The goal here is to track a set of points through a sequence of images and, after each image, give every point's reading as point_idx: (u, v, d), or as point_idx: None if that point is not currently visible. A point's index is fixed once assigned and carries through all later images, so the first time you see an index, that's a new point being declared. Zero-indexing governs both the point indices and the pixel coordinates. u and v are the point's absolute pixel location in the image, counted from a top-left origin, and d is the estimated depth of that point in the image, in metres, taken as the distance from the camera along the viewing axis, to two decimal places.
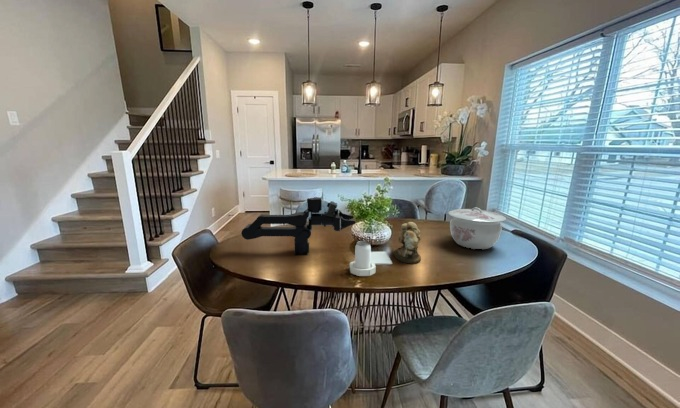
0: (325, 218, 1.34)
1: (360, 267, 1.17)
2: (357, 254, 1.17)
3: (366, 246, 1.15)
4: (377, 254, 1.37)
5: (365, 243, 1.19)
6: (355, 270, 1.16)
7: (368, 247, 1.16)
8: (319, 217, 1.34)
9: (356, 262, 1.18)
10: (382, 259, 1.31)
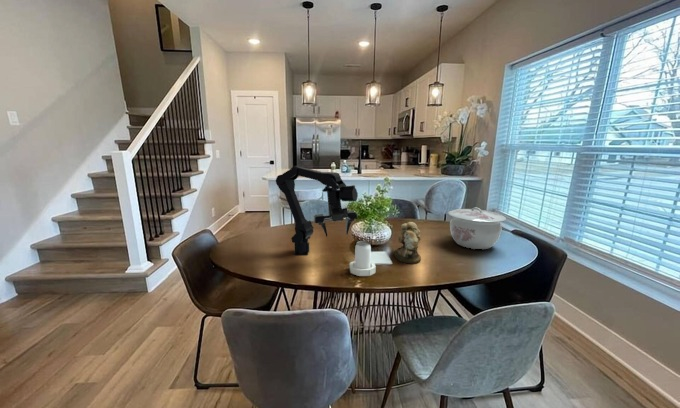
0: (329, 206, 1.26)
1: (360, 267, 1.17)
2: (357, 254, 1.17)
3: (366, 246, 1.15)
4: (377, 254, 1.37)
5: (365, 243, 1.19)
6: (355, 270, 1.16)
7: (368, 247, 1.16)
8: (334, 200, 1.24)
9: (356, 262, 1.18)
10: (382, 259, 1.31)
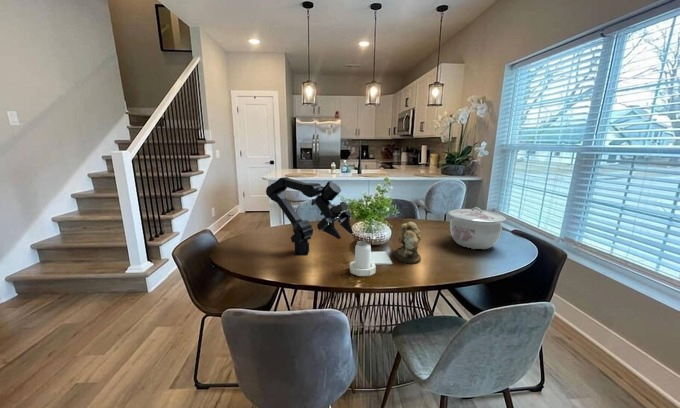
0: (325, 209, 1.23)
1: (360, 267, 1.17)
2: (357, 254, 1.17)
3: (366, 246, 1.15)
4: (377, 254, 1.37)
5: (365, 243, 1.19)
6: (355, 270, 1.16)
7: (368, 247, 1.16)
8: (323, 204, 1.24)
9: (356, 262, 1.18)
10: (382, 259, 1.31)
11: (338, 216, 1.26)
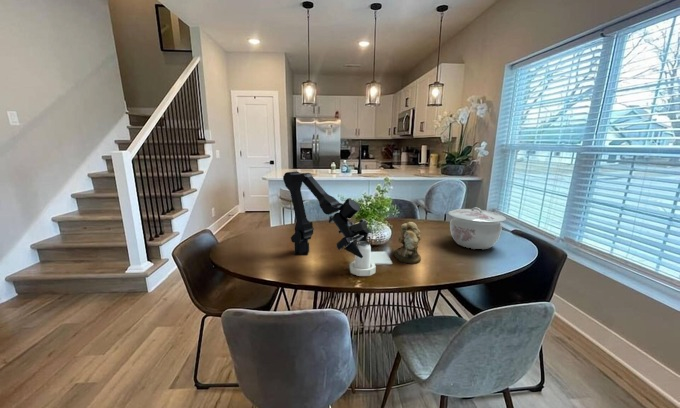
0: (344, 228, 1.19)
1: (360, 267, 1.17)
2: None
3: (366, 246, 1.15)
4: (377, 254, 1.37)
5: (365, 243, 1.18)
6: (355, 270, 1.16)
7: (368, 247, 1.16)
8: (341, 222, 1.20)
9: (356, 262, 1.18)
10: (382, 259, 1.31)
11: (357, 234, 1.22)
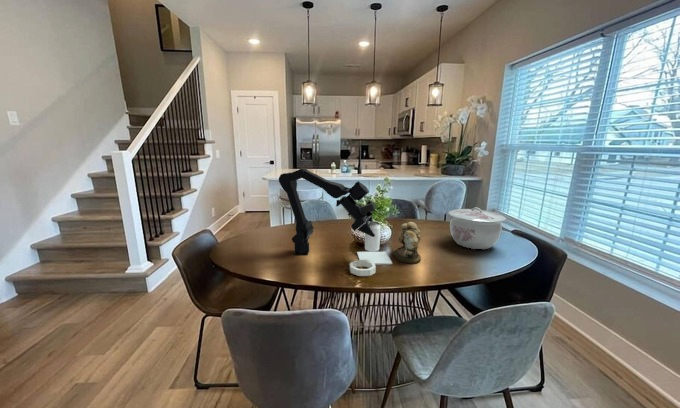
0: (355, 210, 1.24)
1: (372, 246, 1.24)
2: None
3: (377, 225, 1.23)
4: (377, 254, 1.37)
5: (374, 223, 1.26)
6: (355, 270, 1.16)
7: (379, 226, 1.24)
8: (351, 204, 1.24)
9: (368, 242, 1.24)
10: (382, 259, 1.31)
11: (364, 215, 1.28)
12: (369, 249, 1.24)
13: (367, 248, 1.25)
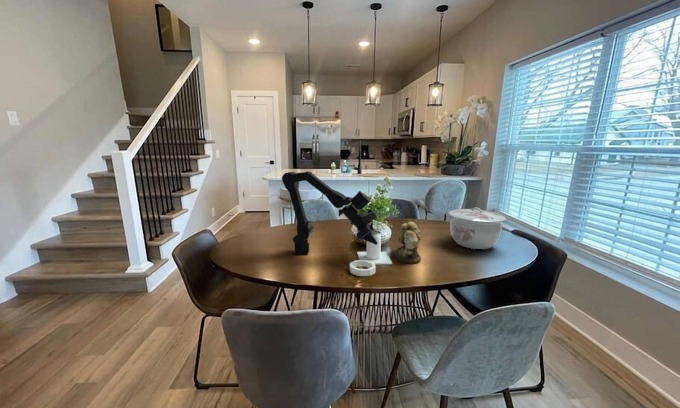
0: (358, 218, 1.28)
1: (374, 254, 1.30)
2: None
3: (379, 234, 1.29)
4: None
5: (375, 232, 1.32)
6: (355, 270, 1.16)
7: (380, 235, 1.30)
8: (354, 213, 1.28)
9: (370, 250, 1.30)
10: (382, 259, 1.31)
11: None
12: (372, 257, 1.30)
13: (369, 256, 1.30)
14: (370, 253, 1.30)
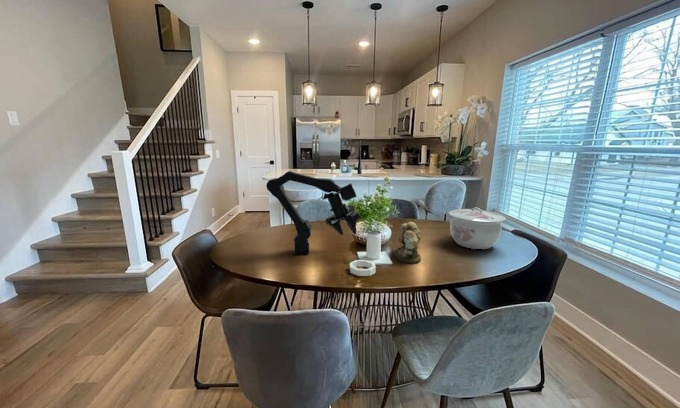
0: (343, 206, 1.34)
1: (374, 254, 1.30)
2: (371, 242, 1.29)
3: (379, 234, 1.29)
4: None
5: (375, 232, 1.32)
6: (355, 270, 1.16)
7: (380, 235, 1.30)
8: (338, 202, 1.32)
9: (370, 250, 1.30)
10: (382, 259, 1.31)
11: None
12: (372, 257, 1.30)
13: (370, 256, 1.30)
14: (370, 253, 1.30)
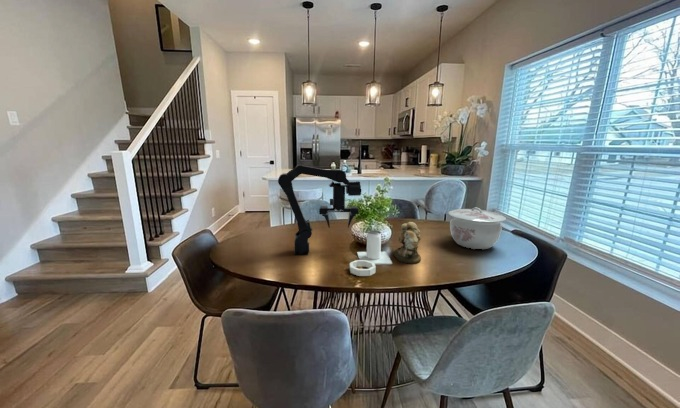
0: None
1: (375, 254, 1.30)
2: (371, 242, 1.29)
3: (379, 234, 1.29)
4: None
5: (375, 232, 1.32)
6: (355, 270, 1.16)
7: (380, 235, 1.30)
8: (343, 194, 1.34)
9: (370, 250, 1.30)
10: (382, 259, 1.31)
11: None
12: (372, 257, 1.30)
13: (370, 256, 1.30)
14: (370, 253, 1.30)
